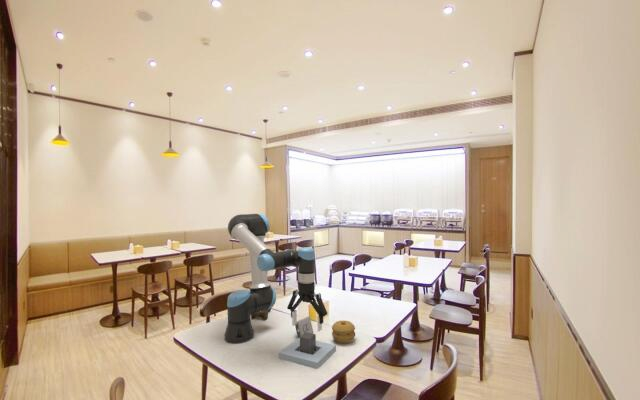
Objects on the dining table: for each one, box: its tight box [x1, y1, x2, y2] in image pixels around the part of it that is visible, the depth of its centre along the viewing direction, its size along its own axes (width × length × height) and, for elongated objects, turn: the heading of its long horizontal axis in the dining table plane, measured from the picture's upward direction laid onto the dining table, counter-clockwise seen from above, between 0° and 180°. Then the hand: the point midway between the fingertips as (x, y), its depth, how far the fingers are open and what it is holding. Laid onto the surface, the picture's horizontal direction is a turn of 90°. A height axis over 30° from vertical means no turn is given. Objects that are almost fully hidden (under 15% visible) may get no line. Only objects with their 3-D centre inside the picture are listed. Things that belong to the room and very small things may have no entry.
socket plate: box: [278, 337, 337, 369], centre depth 142 cm, size 20×18×2 cm
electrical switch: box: [294, 316, 315, 339], centre depth 162 cm, size 9×5×9 cm, turn 141°
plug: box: [299, 332, 317, 355], centre depth 142 cm, size 5×6×8 cm
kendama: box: [250, 308, 272, 321], centre depth 191 cm, size 6×10×20 cm
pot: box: [331, 320, 356, 344], centre depth 155 cm, size 12×12×10 cm
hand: (306, 327), depth 142 cm, fingers open, 13 cm apart
